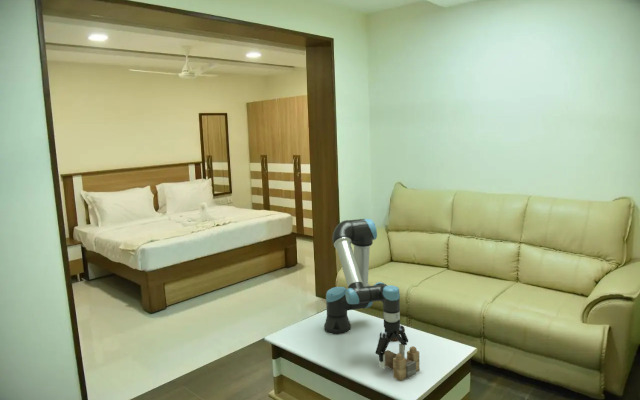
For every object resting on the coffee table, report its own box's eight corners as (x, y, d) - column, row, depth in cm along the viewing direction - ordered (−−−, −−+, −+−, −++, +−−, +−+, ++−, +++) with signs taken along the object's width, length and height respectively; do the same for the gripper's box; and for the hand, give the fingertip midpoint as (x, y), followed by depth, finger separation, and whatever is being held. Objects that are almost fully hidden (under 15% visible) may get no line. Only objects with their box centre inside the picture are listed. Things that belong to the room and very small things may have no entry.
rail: (382, 364, 211) (382, 352, 210) (388, 361, 213) (387, 350, 213) (406, 376, 200) (406, 364, 199) (412, 373, 202) (412, 361, 201)
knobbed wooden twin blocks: (393, 377, 199) (392, 353, 198) (412, 366, 208) (412, 343, 206) (402, 381, 195) (401, 357, 194) (421, 371, 204) (421, 347, 202)
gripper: (379, 329, 195) (380, 374, 198) (415, 314, 210) (415, 356, 213) (366, 324, 200) (368, 368, 203) (403, 309, 216) (403, 350, 219)
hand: (392, 362), depth 208 cm, fingers open, 13 cm apart
